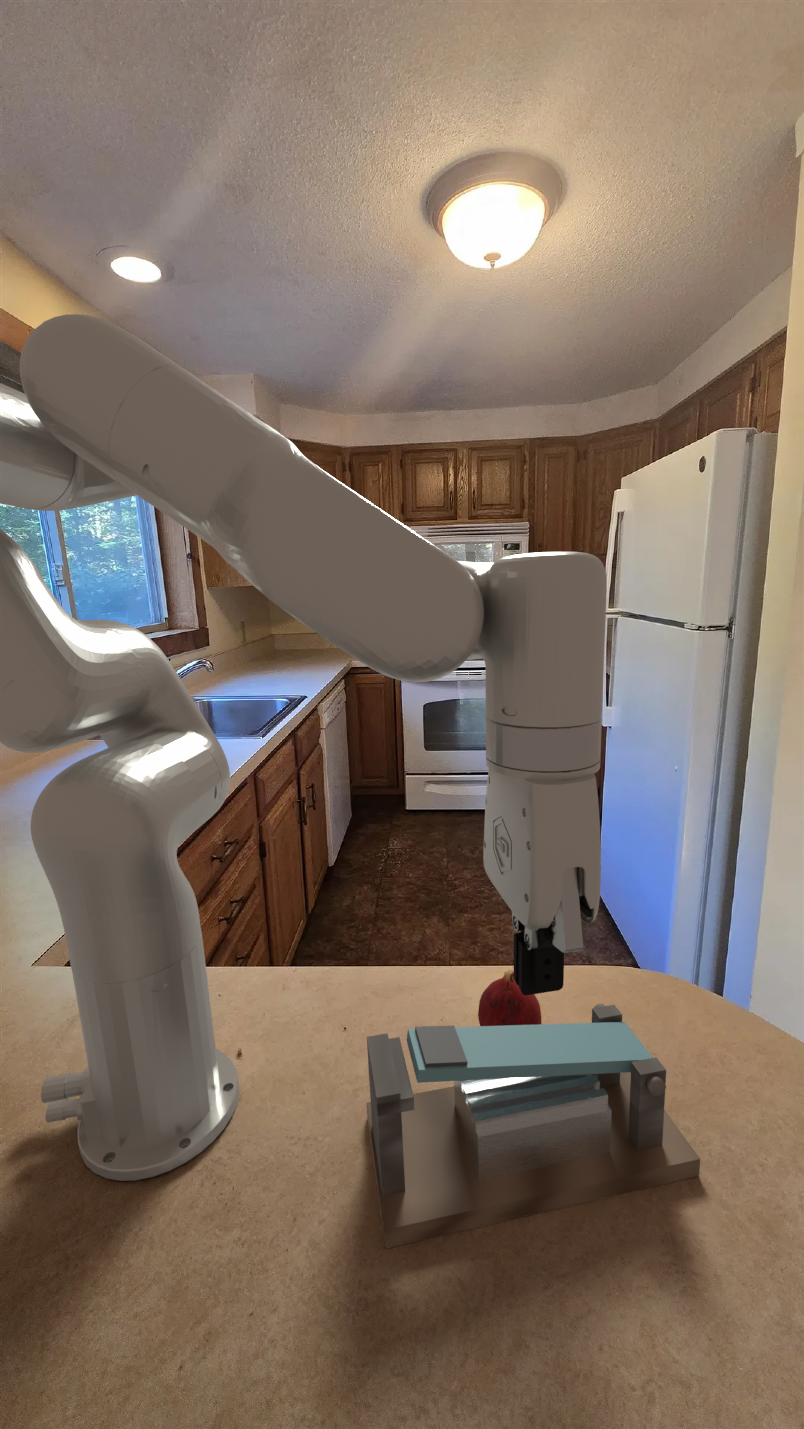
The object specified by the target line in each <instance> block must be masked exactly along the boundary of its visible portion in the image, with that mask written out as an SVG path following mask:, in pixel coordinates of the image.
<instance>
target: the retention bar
mask: <svg viewBox="0 0 804 1429" xmlns="http://www.w3.org/2000/svg"><path fill="white" fill-rule="evenodd" d="M406 1044H407V1047H408V1051H409V1055H410V1058H411V1063H412V1068H413V1071H414V1075H415V1079H416V1082H417V1084H418V1083H435V1082H436V1083H441V1082H454V1081H463V1080H483V1079H503V1078H523V1077H543V1076H563V1075H584V1074H604V1073H624V1072H631V1062H634V1061H639V1060H644V1059H649V1058H654V1057H653V1056H652V1055H651V1053H650V1052H649V1050H648V1049H647V1048H646V1047H645V1046H644V1044H643V1043H642V1041H641V1040H640V1039H639V1038H638V1037H637V1035H636V1034H635V1033H634V1032H633V1030H632V1029H631V1028H630V1026H629V1025H628V1024H627V1023H626V1022H625V1021H622V1022H603V1023H592V1022H578V1023H577V1022H576V1023H544V1024H543V1023H542V1024H538V1025H506V1026H480V1025H479V1026H455V1025H454V1024H453V1025H432V1026H430V1025H429V1026H428V1025H427V1026H422V1025H421V1026H415V1027H414V1028H413V1027H411V1028H410V1027H409V1028H407V1034H406Z"/></svg>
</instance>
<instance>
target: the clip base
mask: <svg viewBox="0 0 804 1429" xmlns="http://www.w3.org/2000/svg"><path fill="white" fill-rule="evenodd" d="M603 1022H623V1013H622V1012H621V1011H620V1010H619V1009H618V1007H617V1005H616V1004H610V1005H606V1004H604V1003H597V1004H596V1005H594V1007H593V1008H591V1023H603ZM400 1038H401V1037H400V1036H398V1037H396V1036H395V1037H391V1038H389V1033H388V1032H386V1033H382V1034H375V1035H369V1036H368V1035H367V1036H366V1047H367V1062H368V1064H367V1065H368V1081H369V1091H370V1092H369V1093H370V1094H369V1096H370V1101H369V1102H366V1114H367V1116H366V1118H367V1125H368V1126H367V1127H368V1132H369V1139H370V1148H371V1153H372V1160H373V1169H374V1175H375V1176H374V1177H375V1183H376V1190H377V1196H378V1205H379V1211H380V1219H381V1226H382V1234H383V1240H384V1246H385V1249H388V1248H389V1249H390V1248H394V1247H397V1246H403V1245H407V1244H410V1243H414V1242H421V1241H424V1240H429V1239H432V1238H436V1237H437V1238H438V1237H441V1236H446V1235H448V1234H449V1235H450V1234H455V1233H458V1232H462V1231H467V1230H471V1229H475V1228H476V1229H477V1228H480V1227H485V1226H488V1225H489V1226H490V1225H493V1224H497V1223H502V1222H506V1221H511V1220H515V1219H519V1218H523V1217H528V1216H533V1215H536V1214H541V1213H545V1212H550V1211H553V1210H558V1209H563V1208H566V1207H571V1206H576V1205H579V1204H584V1203H587V1202H589V1203H590V1202H593V1201H596V1200H597V1201H598V1200H602V1199H606V1198H610V1197H613V1196H614V1197H615V1196H619V1195H623V1194H628V1193H632V1192H635V1191H641V1190H644V1189H649V1188H654V1187H657V1186H662V1185H667V1184H670V1183H674V1182H679V1181H683V1180H688V1179H693V1178H696V1177H700V1166H701V1158H700V1157H699V1155H698V1154H697V1153H696V1151H695V1150H694V1148H693V1147H692V1146H691V1144H690V1143H689V1142H688V1140H687V1139H686V1138H685V1136H684V1134H683V1133H682V1132H681V1130H680V1129H679V1127H678V1126H677V1125H676V1123H675V1122H674V1121H673V1120H672V1118H671V1116H670V1115H669V1114H668V1113H667V1111H666V1110H665V1100H666V1089H667V1086H666V1083H667V1082H666V1081H667V1080H666V1079H667V1069H666V1067H665V1066H664V1065H663V1064H662V1062H661V1061H660V1060H659V1059H658V1058H657V1056H654V1057H653V1058H649V1059H644V1060H639V1061H634V1062H631V1072H624V1073H604V1074H592V1076H594V1075H596V1076H597V1078H598V1080H599V1081H600V1089H602V1088H604V1089H605V1091H606V1092H607V1094H608V1105H609V1107H610V1108H611V1140H610V1153H606V1154H602V1155H597V1156H593V1157H588V1158H583V1159H579V1160H574V1161H570V1162H565V1163H560V1164H556V1165H551V1166H547V1167H542V1168H537V1169H533V1170H528V1171H524V1172H519V1173H514V1174H510V1175H505V1176H501V1177H496V1178H491V1179H487V1180H482V1181H479V1180H478V1177H477V1174H476V1171H475V1167H474V1164H473V1161H472V1158H471V1155H470V1152H469V1148H468V1145H467V1142H466V1139H465V1136H464V1133H463V1130H462V1126H461V1123H460V1120H459V1117H458V1114H457V1111H456V1107H455V1095H454V1086H449V1087H444V1088H438V1089H432V1090H427V1091H422V1092H417V1093H413V1089H412V1084H411V1083H412V1082H411V1080H410V1076H409V1072H408V1071H409V1070H408V1069H407V1068H408V1067H407V1062H406V1058H405V1055H404V1050H403V1045H402V1042H401V1039H400Z"/></svg>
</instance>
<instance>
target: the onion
mask: <svg viewBox="0 0 804 1429" xmlns="http://www.w3.org/2000/svg"><path fill="white" fill-rule="evenodd" d="M478 1003H479V1005H478V1011H477V1012H478V1013H477V1017H478V1018H477V1019H478V1023H479V1026H506V1025H538V1024H543V1023H542V1012H541V1011H542V1010H541V1006H540V1002H539V1000H538V998H537V996H536V994H532V995H523V994H522V992H521V991H520V989H519V985H517V984H516V982H515V980H514V970H512V969H508V970H507V971H504V974H503V976H502V978H501V977H500V978H499V979H496V980H494V981H492V982H490V984H489V985H488V986H487V987H486V988H485V989H484V991H483V992H482V994H481V995H480V999H479V1001H478Z"/></svg>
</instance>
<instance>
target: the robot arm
mask: <svg viewBox="0 0 804 1429" xmlns="http://www.w3.org/2000/svg"><path fill="white" fill-rule="evenodd" d="M19 358H20V359H19V373H20V380H21V386H22V387H21V388H22V390H23V392H22V391H19V390H18V389H15V388H12V387H10V386H8V385H5V384H3V383H2V382H0V504H1V505H4V506H11V507H16V508H21V509H26V510H33V511H43V512H51V511H54V512H55V511H65V510H72V509H73V510H74V509H78V508H83V507H88V506H92V505H97V504H102V503H106V502H111V501H115V500H121V499H126V498H130V497H135V496H138V497H139V498H141V499H142V500H143V501H145V502H147V503H148V504H150V505H151V506H153V507H154V508H156V509H157V510H158V511H160V512H162V513H163V514H164V515H166V516H167V517H169V518H170V519H172V520H173V521H174V522H176V523H178V524H179V525H181V526H182V527H183V528H184V529H186V530H188V531H189V532H191V533H192V534H194V535H195V536H196V537H197V538H200V540H202V541H204V542H205V543H207V545H209V546H210V547H212V548H213V549H214V550H216V552H217V554H219V555H220V557H221V558H222V559H223V560H224V561H225V562H226V563H227V564H228V565H230V566H231V567H232V568H233V569H234V570H236V571H237V572H238V573H239V575H241V576H242V577H243V578H244V579H246V581H248V582H249V583H250V584H251V585H252V586H253V587H254V588H255V589H256V590H258V591H259V592H260V593H261V594H262V595H264V596H265V597H266V598H267V599H269V600H270V601H271V602H272V603H274V604H275V605H276V606H277V607H278V608H280V609H281V610H283V611H284V612H286V613H287V614H288V615H290V616H292V617H293V618H294V619H295V620H297V621H298V622H300V623H302V624H303V625H304V626H306V627H307V628H309V629H310V630H312V631H313V632H315V633H316V634H318V635H319V636H321V637H322V638H324V639H325V640H327V641H328V642H330V643H331V644H333V645H334V646H336V647H337V648H338V649H340V650H341V651H343V652H345V653H346V654H348V655H349V656H351V657H352V658H354V659H356V660H357V661H358V662H359V663H361V664H363V665H365V666H366V667H368V668H370V669H371V670H373V671H374V672H375V671H376V672H377V673H379V674H381V675H383V676H386V677H389V678H391V679H395V680H398V681H401V682H409V683H427V682H432V681H436V680H439V679H441V678H444V677H447V676H448V675H450V674H452V673H453V672H455V671H456V670H458V668H460V667H461V666H462V665H463V664H465V662H466V661H471V660H480V659H481V660H482V659H483V661H484V664H485V665H484V666H485V765H486V767H487V768H488V772H487V781H486V793H485V807H484V826H483V827H484V829H483V830H484V831H483V855H482V856H483V860H482V861H483V867H484V870H485V874H486V875H487V877H488V879H489V880H490V882H491V884H492V885H493V886H494V887H495V889H496V891H497V892H498V894H499V895H500V897H501V898H502V899H503V901H504V902H505V903H506V905H507V907H508V908H509V909H510V911H511V920H512V926H513V928H514V931H515V932H514V933H513V971H514V980H515V982H516V984H517V985H519V989H520V991H521V992H522V994H523V995H532V994H535V995H536V994H538V995H539V994H544V993H549V992H550V993H551V992H556V991H557V992H558V991H561V990H562V989H563V987H564V982H565V981H564V979H565V978H564V974H565V973H564V972H565V953H566V954H567V953H573V952H580V951H583V950H584V940H583V939H584V937H583V929H582V921H584V922H585V923H587V924H591V923H593V922H594V921H595V919H596V918H597V916H598V913H599V907H600V906H599V905H600V899H601V898H600V897H601V882H602V881H601V880H602V879H601V878H602V876H601V875H602V860H601V859H602V858H601V857H602V853H601V849H602V848H601V823H600V821H601V820H600V808H599V806H600V805H599V795H598V787H597V786H598V785H597V778H596V777H597V776H596V775H595V774H597V772H598V771H599V770H600V768H601V758H602V757H601V755H602V754H601V752H602V728H603V727H602V726H603V724H602V723H603V700H604V699H603V698H604V696H603V695H604V674H605V673H604V672H605V666H604V665H605V645H606V643H605V641H606V618H607V616H606V615H607V597H608V596H607V593H608V592H607V591H608V588H607V587H608V586H607V585H608V583H607V579H608V578H607V571H606V568H605V566H604V563H603V562H602V561H601V559H600V558H598V557H597V556H596V555H595V554H591V553H588V552H581V551H580V552H579V551H541V552H538V551H537V552H527V553H526V552H525V553H519V554H513V555H508V556H503V557H502V558H499V559H497V560H495V561H494V562H479V561H477V562H474V561H462V560H457V559H455V558H454V557H453V556H451V555H450V554H448V552H446V551H444V550H442V549H441V548H440V547H438V546H437V545H435V544H434V543H432V542H430V541H429V540H427V539H426V538H424V537H423V536H421V535H420V534H418V533H417V532H416V531H414V530H412V529H411V528H410V527H408V526H407V525H405V524H404V523H402V522H400V521H399V520H397V519H396V518H394V517H393V516H391V515H390V514H388V513H387V512H385V511H384V510H383V509H381V508H380V507H378V506H376V504H374V503H372V502H371V501H369V500H368V499H366V498H365V497H364V496H362V495H360V494H359V493H357V492H356V491H355V490H353V489H352V488H350V487H349V486H347V485H346V484H345V483H343V482H341V481H339V480H338V479H337V478H335V477H334V476H332V475H331V474H329V473H328V472H327V471H325V469H324V470H323V469H322V468H321V467H319V466H318V465H317V464H315V463H314V462H312V461H311V460H310V459H308V458H307V457H306V456H305V455H304V454H303V453H302V452H301V451H300V449H299V448H298V447H297V446H296V445H295V444H294V443H293V441H291V440H290V439H288V438H287V437H285V436H284V435H282V434H281V433H280V432H279V431H278V430H276V429H274V428H273V427H271V426H270V425H268V424H267V423H265V422H264V421H262V420H261V419H259V418H258V417H256V416H254V415H252V414H251V413H250V412H248V411H247V410H246V409H244V408H243V407H241V406H240V405H238V404H237V403H235V402H234V401H232V400H230V399H229V398H228V397H226V396H225V395H223V394H222V393H220V392H219V391H217V390H216V389H215V388H213V387H211V385H208V384H207V383H206V382H204V381H202V380H201V379H199V378H198V377H197V376H195V375H194V374H192V373H191V372H189V371H188V370H186V369H185V368H184V367H182V366H181V365H179V364H178V363H176V362H174V361H173V360H172V359H170V358H168V357H167V356H166V355H164V354H162V353H161V352H160V351H158V350H157V349H156V348H154V347H153V346H151V345H150V344H148V343H147V342H145V341H144V340H142V339H141V338H139V337H138V336H136V335H134V333H131V332H130V331H128V330H126V329H124V328H123V327H121V326H119V325H117V324H115V323H114V322H111V321H108V320H104V319H102V318H100V317H97V316H93V315H89V314H78V313H73V314H72V313H71V314H68V313H67V314H62V315H57V316H53V317H51V318H49V319H47V320H44V321H43V322H42V323H41V324H38V326H37V327H36V328H35V329H34V330H33V331H31V333H29V335H28V337H27V339H26V341H25V342H24V345H23V348H22V349H21V353H20V357H19ZM97 736H99V737H100V738H101V739H102V741H103V742H104V744H105V745H106V746H107V748H104V749H103V750H100V751H98V752H95V753H93V754H91V755H88V756H86V757H83V758H81V759H80V760H77V761H76V762H74V763H72V764H71V765H69V766H68V767H66V768H64V769H63V770H61V771H60V772H59V773H58V774H56V775H55V776H54V777H53V778H52V779H51V780H50V781H49V782H48V783H47V784H46V786H44V788H43V789H42V791H41V792H40V794H39V795H38V797H37V799H36V801H35V804H34V805H33V809H32V813H31V819H30V836H31V841H32V843H33V848H34V851H35V853H36V856H37V858H38V860H39V862H40V865H41V867H42V869H43V871H44V874H45V876H46V878H47V880H48V883H49V885H50V887H51V890H52V893H53V895H54V899H55V901H56V905H57V908H58V911H59V914H60V915H59V916H60V917H61V922H62V926H63V929H64V931H63V932H64V936H65V941H66V947H67V951H68V952H67V953H68V958H69V959H68V960H69V962H70V968H71V973H72V978H73V984H74V989H75V995H76V996H75V997H76V1001H77V1007H78V1013H79V1019H80V1026H81V1030H82V1036H83V1042H84V1048H85V1053H86V1059H87V1065H88V1066H86V1068H85V1069H84V1071H82V1072H75V1073H72V1072H67V1073H61V1074H55V1075H54V1074H53V1075H50V1076H47V1077H45V1078H44V1080H43V1082H42V1085H41V1092H40V1099H41V1102H42V1103H43V1104H48V1105H47V1106H46V1108H45V1109H46V1110H45V1121H46V1123H54V1122H58V1121H59V1122H60V1121H65V1120H66V1119H71V1118H77V1120H78V1121H79V1122H78V1125H77V1144H78V1150H79V1155H80V1157H81V1159H82V1162H84V1164H85V1166H86V1167H87V1168H89V1169H90V1170H91V1172H92V1173H94V1174H96V1175H99V1176H101V1177H103V1178H105V1179H108V1180H113V1181H119V1182H122V1181H124V1182H125V1181H139V1180H143V1179H144V1180H145V1179H148V1178H153V1177H156V1176H159V1175H162V1174H164V1173H167V1172H170V1171H172V1170H175V1169H176V1168H178V1167H180V1166H182V1165H184V1164H185V1163H187V1162H188V1161H190V1160H193V1158H195V1157H196V1156H197V1155H199V1154H201V1153H202V1152H203V1151H204V1150H205V1149H206V1148H207V1147H209V1145H211V1144H212V1143H213V1142H214V1141H215V1140H216V1138H217V1137H218V1136H220V1134H221V1133H222V1131H223V1130H224V1129H225V1128H226V1126H227V1124H228V1123H229V1121H230V1120H231V1118H232V1116H233V1114H234V1112H235V1109H236V1107H237V1105H238V1100H239V1094H240V1086H239V1085H240V1084H239V1076H238V1070H237V1068H236V1065H235V1063H234V1062H233V1060H232V1059H231V1058H230V1057H229V1056H228V1055H227V1054H226V1053H224V1052H223V1051H221V1050H220V1049H218V1048H217V1047H216V1039H215V1038H216V1037H215V1032H214V1024H213V1023H214V1022H213V1015H212V1007H211V998H210V991H209V982H208V981H209V980H208V972H207V965H206V957H205V948H204V941H203V939H204V938H203V931H202V928H201V918H200V913H199V912H200V911H199V907H198V903H197V898H196V895H195V891H194V890H193V888H192V885H191V883H190V882H189V880H188V879H187V877H186V875H185V874H184V872H183V870H182V868H181V866H180V864H179V862H178V856H177V854H178V848H179V846H180V845H181V844H183V842H185V840H187V839H188V838H189V836H191V835H192V834H193V833H194V832H195V831H196V830H198V829H199V828H200V827H202V826H203V825H204V824H205V823H206V822H207V821H208V820H209V819H211V818H212V817H213V816H214V815H215V814H216V813H217V812H218V811H219V810H220V809H221V807H222V806H223V804H224V803H225V801H226V798H227V796H228V794H229V791H230V784H231V773H230V771H231V770H230V766H229V762H228V759H227V756H226V754H225V751H224V749H223V747H222V746H221V744H220V743H221V742H220V741H219V740H218V738H217V736H216V734H215V732H214V731H213V730H212V728H211V726H210V725H209V723H208V721H207V720H206V718H205V716H204V715H203V714H202V712H201V710H200V708H199V707H198V705H197V703H196V702H195V700H194V698H193V697H192V695H191V693H190V692H189V691H188V689H187V687H186V686H185V683H184V682H183V681H182V679H181V677H180V676H179V673H178V672H177V671H176V669H175V668H174V666H173V664H172V663H171V661H170V660H169V658H168V657H167V655H166V654H165V653H164V651H163V650H162V649H161V648H160V647H159V646H158V645H157V643H155V642H154V641H153V640H152V639H151V638H150V637H149V636H148V635H146V634H145V633H143V632H142V631H141V630H139V629H137V628H136V627H133V626H132V625H129V624H127V623H124V622H121V621H116V620H112V619H111V620H110V619H85V620H84V619H83V620H79V619H76V618H74V617H72V616H71V615H69V613H68V612H67V611H66V610H65V609H64V608H63V606H62V605H61V603H59V601H58V599H56V597H55V595H54V594H53V592H52V591H51V589H50V588H49V587H48V585H47V583H46V582H45V580H44V578H43V577H42V574H41V573H40V571H39V569H38V568H37V566H36V565H35V564H34V562H33V560H32V559H31V558H30V557H29V555H28V554H27V553H26V552H25V550H23V549H22V547H21V546H20V545H19V544H18V543H17V542H16V541H15V540H14V539H13V538H11V536H10V535H8V534H7V532H5V531H4V530H3V529H2V528H0V743H1V744H2V745H3V746H5V747H7V748H8V749H11V750H12V751H16V752H21V753H27V754H33V753H36V754H37V753H45V752H50V751H54V750H55V751H56V750H58V749H59V750H60V749H63V748H66V747H69V746H72V745H76V744H78V743H80V742H84V741H85V740H86V741H87V740H90V739H92V738H95V737H97ZM74 1097H79V1098H74ZM69 1098H74V1099H69Z"/></svg>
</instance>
